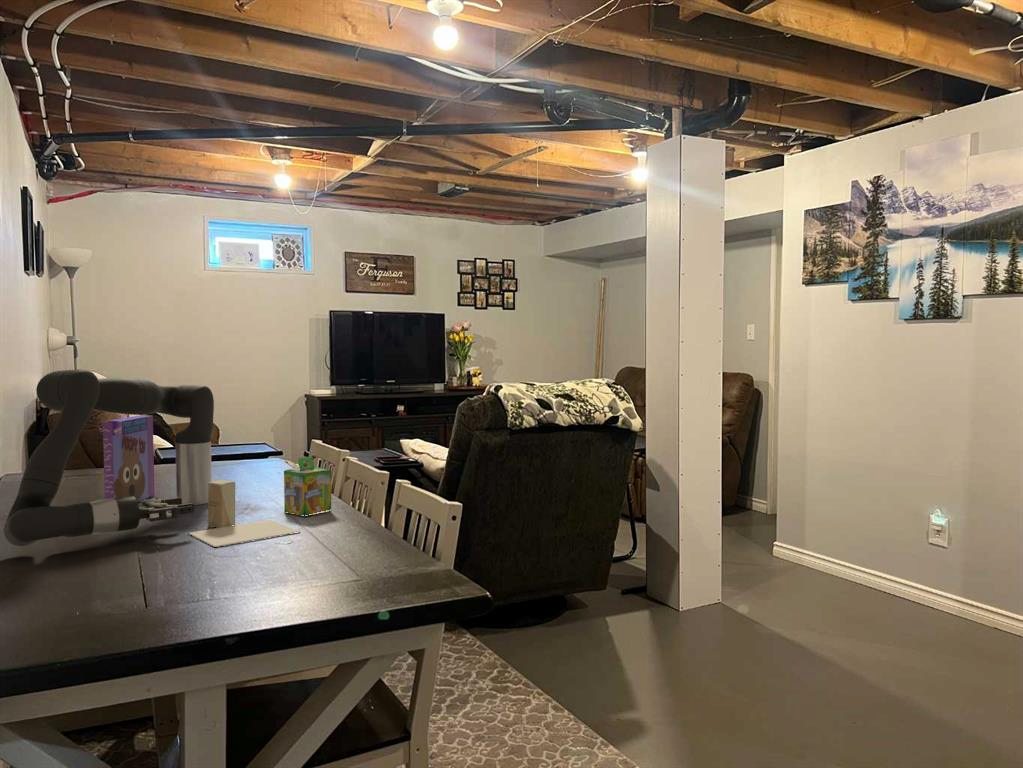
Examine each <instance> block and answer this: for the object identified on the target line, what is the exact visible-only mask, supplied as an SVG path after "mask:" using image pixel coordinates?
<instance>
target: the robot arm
mask: <svg viewBox="0 0 1023 768" xmlns="http://www.w3.org/2000/svg"><path fill="white" fill-rule="evenodd" d="M35 392H36V395H37V398H38V400H39V402H40V403H41V404H42V406H44V407H46V408H48V409H49V410H52V411H56V412H61V414H60V416H59V418H58V420H57V422H56V423H55V425H54V426H53V427H52V429H51V430H50V432H49V433H48V435H46V437H45V438H44V439H42V441H41V442H40V443H39V444H38V446H37V447H36V448H35V449H34V451H33V452H32V454H31V455H30V457H29V460H28V462H27V464H26V466H25V468H24V469H25V470H24V473H23V475H22V477H21V480H20V484H19V488H18V492H17V495H16V498H15V500H14V502H13V504H12V507H11V509H10V511H9V514H8V516H7V519H6V521H5V523H4V527H3V534H4V538H5V539H6V540H7V541H8V543H10V544H12V545H13V546H16V547H26V546H30V545H32V544H34V543H35V542H37V541H41V540H47V539H53V538H59V537H64V538H75V537H81V536H83V537H84V536H89V535H101V534H102V535H103V534H111V533H116V532H123V531H129V530H135V529H137V528H138V526H139V524H140V520H141V519H142V520H143V519H144V520H145V519H146V521H149V522H152V523H153V522H159V521H164V520H171V519H175V520H176V519H178V516H179V515H188V514H193V513H194V512H195V510H196V508H195V506H198V505H204V504H205V503H206V504H208V482H212V441H211V439H212V434H213V429H214V412H215V409H214V408H215V403H214V400H215V399H214V396H213V395H214V394H213V392H212V390H211V389H210V388H209V387H208V386H207V385H201V384H200V385H196V384H195V385H194V384H192V385H191V384H181V385H168V386H167V385H163V386H161V385H158V384H156V383H155V382H153V381H151V380H149V379H142V378H135V377H106V378H103V377H102V378H98V377H97V375H95V373H93V372H92V371H90V370H89V369H88V370H87V369H64V370H55V371H52V372H49V373H47V374H46V375H43V377H42V378H40V380H39V381H38V382H37V385H36V389H35ZM94 410H96V411H99V412H106V413H113V414H122V415H130V416H131V415H133V416H140V415H152V414H157V413H158V414H164V415H169V416H171V417H177V418H183V419H184V418H185V419H186V418H187V419H189V425H188V426H187V427H186V428H185V429H182V430H179V431H177V432H176V433H175V436H174V439H175V440H174V441H175V442H174V443H175V485H176V486H175V487H176V488H175V492H176V493H175V497H173V498H159V497H154V498H153V497H152V498H148V499H145V500H138V501H137V499H136V498H135V497H134V496H126V497H118V498H110V499H105V498H103V499H97V500H94V501H89V502H79V503H73V504H67V505H51V504H52V502H53V500H54V499H55V497H56V495H57V493H58V490H59V487H60V484H61V481H62V478H63V476H64V472H65V469H66V466H67V463H68V461H69V458H70V455H71V453H72V452H73V449H74V447H75V445H76V443H77V441H78V439H79V437H80V435H81V434H82V431H83V430H84V427H86V424H87V422H88V420H89V418H90V416H91V414H92V412H93V411H94ZM168 511H171V513H170V512H168Z"/></svg>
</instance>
